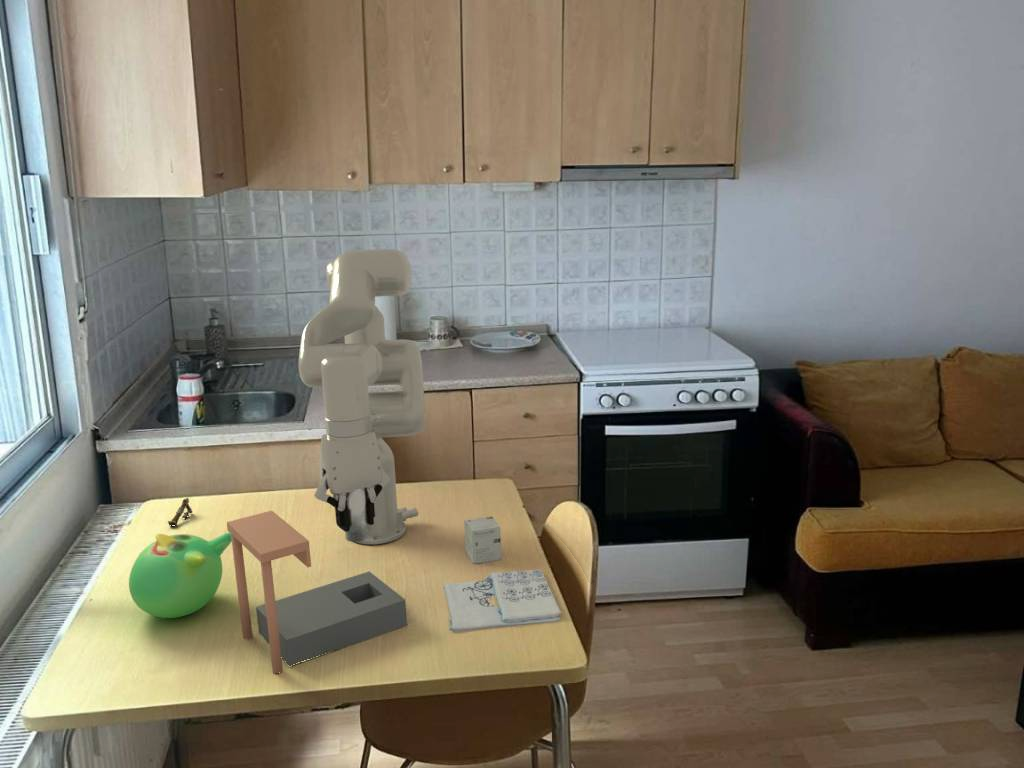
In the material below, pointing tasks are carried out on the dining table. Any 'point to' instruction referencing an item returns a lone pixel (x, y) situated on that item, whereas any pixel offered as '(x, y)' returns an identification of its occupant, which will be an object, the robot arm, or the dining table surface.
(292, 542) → the canopy
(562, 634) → the dining table surface
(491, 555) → the skincare box
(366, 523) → the metal peg
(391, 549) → the dining table surface
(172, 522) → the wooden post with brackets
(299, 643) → the socket plate
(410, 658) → the dining table surface
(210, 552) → the toy bird
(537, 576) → the folded cloth
